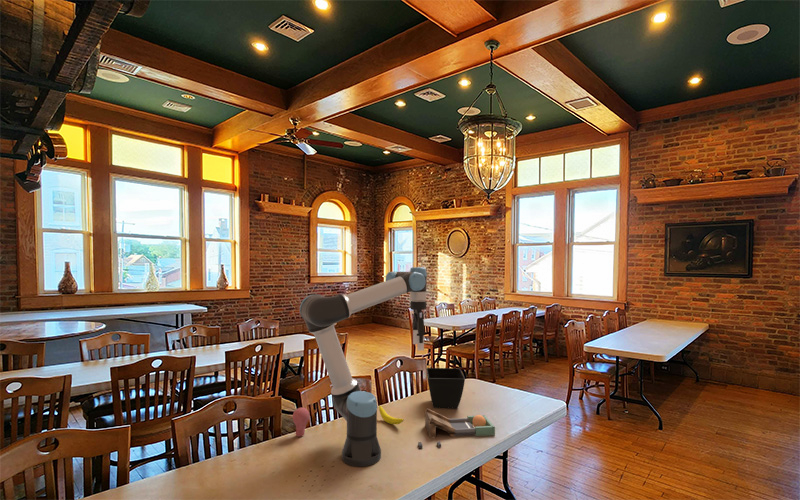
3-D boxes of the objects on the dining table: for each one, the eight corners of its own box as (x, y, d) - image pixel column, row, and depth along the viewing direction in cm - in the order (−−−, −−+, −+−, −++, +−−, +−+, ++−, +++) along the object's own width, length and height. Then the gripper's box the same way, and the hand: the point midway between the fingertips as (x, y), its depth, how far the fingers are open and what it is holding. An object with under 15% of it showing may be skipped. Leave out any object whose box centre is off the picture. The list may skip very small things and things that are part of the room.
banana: (401, 431, 173) (401, 417, 173) (376, 418, 188) (376, 405, 188) (406, 429, 175) (406, 415, 175) (381, 416, 190) (381, 403, 190)
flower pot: (465, 411, 197) (465, 378, 198) (428, 411, 197) (428, 377, 198) (460, 398, 216) (460, 368, 217) (426, 398, 216) (426, 367, 217)
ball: (472, 423, 173) (482, 415, 173) (468, 418, 178) (478, 410, 179) (479, 434, 173) (490, 425, 173) (475, 428, 179) (485, 420, 179)
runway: (454, 436, 168) (454, 429, 169) (448, 424, 180) (448, 418, 180) (476, 435, 170) (476, 428, 170) (468, 424, 182) (468, 417, 182)
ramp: (429, 437, 167) (429, 418, 168) (424, 425, 179) (424, 408, 179) (456, 436, 169) (456, 417, 169) (450, 424, 181) (450, 407, 181)
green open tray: (475, 435, 169) (475, 427, 169) (467, 423, 182) (467, 416, 182) (494, 435, 170) (494, 426, 170) (485, 422, 183) (485, 415, 183)
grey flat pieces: (419, 448, 157) (419, 445, 157) (418, 445, 160) (418, 442, 160) (441, 447, 158) (441, 444, 158) (439, 444, 161) (439, 441, 161)
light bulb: (312, 435, 168) (312, 407, 169) (298, 441, 163) (298, 412, 163) (303, 431, 173) (303, 403, 174) (289, 436, 168) (289, 408, 168)
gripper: (431, 303, 167) (431, 352, 166) (421, 298, 192) (421, 341, 191) (414, 303, 166) (414, 353, 165) (406, 298, 191) (406, 341, 190)
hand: (418, 347), depth 178 cm, fingers open, 13 cm apart
